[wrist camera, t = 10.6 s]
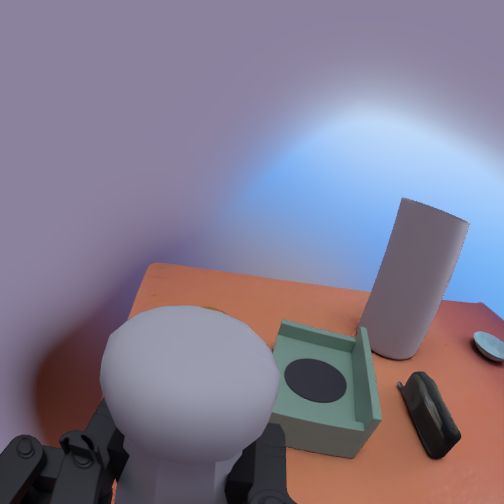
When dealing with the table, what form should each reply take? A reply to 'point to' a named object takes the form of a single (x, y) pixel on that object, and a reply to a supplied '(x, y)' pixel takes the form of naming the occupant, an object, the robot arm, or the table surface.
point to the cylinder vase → (412, 278)
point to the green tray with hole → (325, 390)
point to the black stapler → (430, 414)
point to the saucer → (489, 346)
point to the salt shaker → (185, 401)
